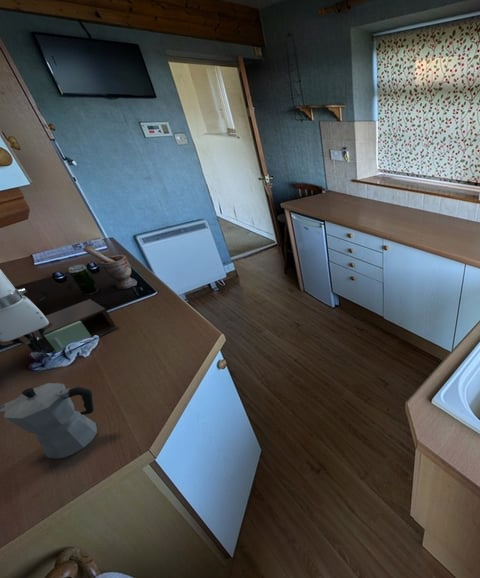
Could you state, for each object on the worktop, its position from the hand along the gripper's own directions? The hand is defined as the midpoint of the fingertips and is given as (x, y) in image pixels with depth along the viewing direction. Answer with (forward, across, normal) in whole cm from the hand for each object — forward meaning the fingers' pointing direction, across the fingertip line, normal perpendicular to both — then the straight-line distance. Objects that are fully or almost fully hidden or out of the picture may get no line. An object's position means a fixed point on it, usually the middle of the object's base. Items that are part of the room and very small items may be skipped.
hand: (40, 349), depth 89 cm
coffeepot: (+5, +6, +40) cm, 41 cm away
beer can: (+5, -24, -38) cm, 45 cm away
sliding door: (+4, -7, 0) cm, 8 cm away
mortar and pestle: (+5, -33, -32) cm, 46 cm away
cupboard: (+5, -10, -7) cm, 12 cm away
